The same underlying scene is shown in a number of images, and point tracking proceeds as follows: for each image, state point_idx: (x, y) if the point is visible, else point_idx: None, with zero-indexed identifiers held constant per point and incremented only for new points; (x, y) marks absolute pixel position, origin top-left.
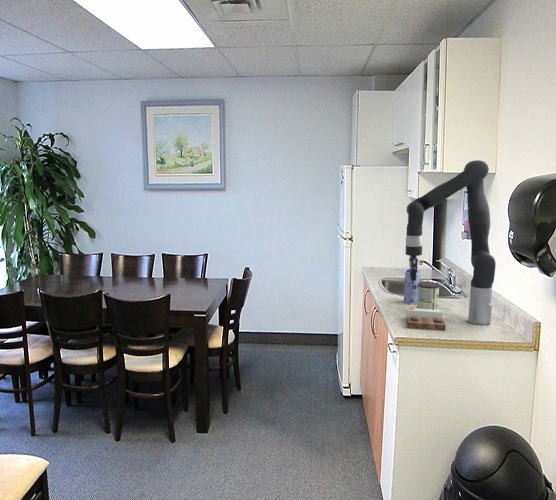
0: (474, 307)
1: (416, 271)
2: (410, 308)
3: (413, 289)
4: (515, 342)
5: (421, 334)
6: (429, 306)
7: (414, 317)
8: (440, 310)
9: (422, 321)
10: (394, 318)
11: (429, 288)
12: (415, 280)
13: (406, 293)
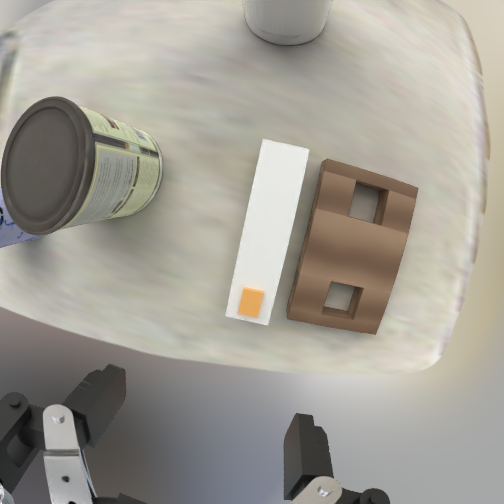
0: (322, 2)
1: (384, 498)
2: (258, 310)
3: (4, 217)
4: (471, 37)
5: (434, 294)
6: (147, 171)
7: (304, 290)
8: (270, 147)
9: (366, 272)
10: (241, 345)
11: (93, 171)
12: (310, 416)
13: (13, 241)
